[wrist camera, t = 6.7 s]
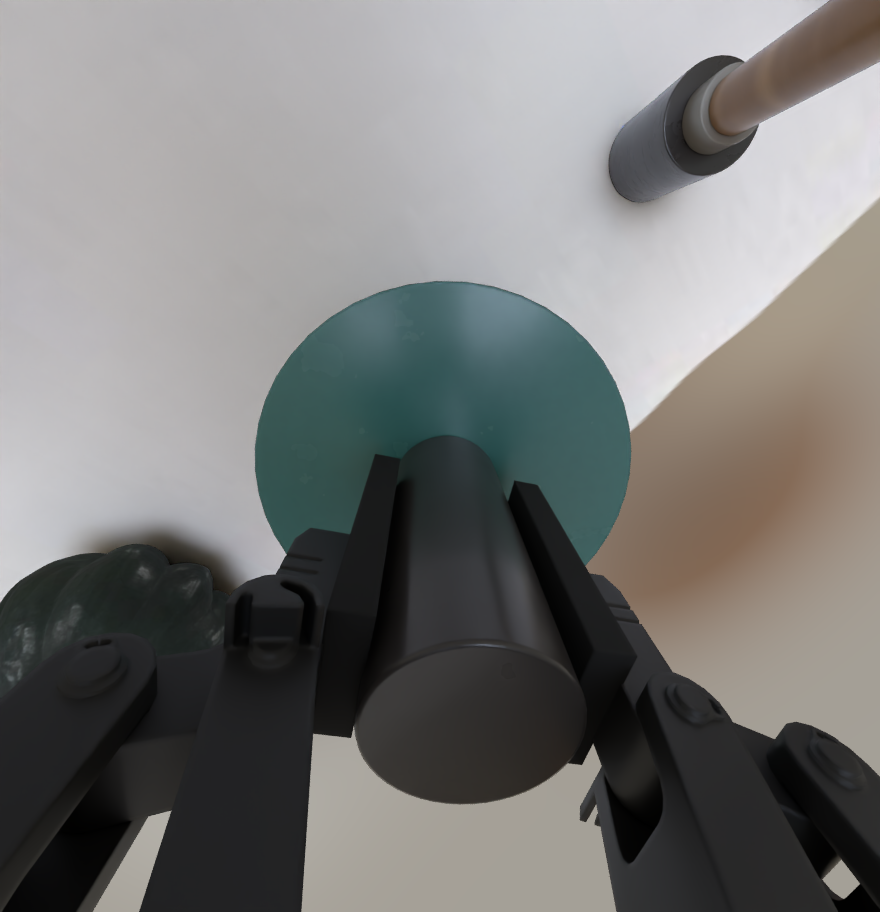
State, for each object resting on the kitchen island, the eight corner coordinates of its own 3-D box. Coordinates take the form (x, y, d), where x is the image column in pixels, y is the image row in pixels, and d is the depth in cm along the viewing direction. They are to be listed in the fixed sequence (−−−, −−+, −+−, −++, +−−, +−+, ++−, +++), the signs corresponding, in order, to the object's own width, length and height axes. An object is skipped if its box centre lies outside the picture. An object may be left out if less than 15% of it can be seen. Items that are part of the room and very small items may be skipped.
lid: (255, 582, 17) (52, 928, 8) (282, 236, 13) (-123, 80, 3) (554, 628, 19) (684, 967, 9) (674, 332, 14) (1167, 410, 5)
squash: (-36, 693, 30) (-45, 931, 21) (-35, 515, 26) (-45, 717, 16) (186, 633, 40) (245, 774, 31) (214, 499, 36) (292, 617, 27)
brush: (597, 192, 25) (1442, -313, 4) (625, 102, 23) (2165, -1383, 3) (666, 210, 25) (1726, -160, 5) (697, 124, 24) (2478, -996, 3)
